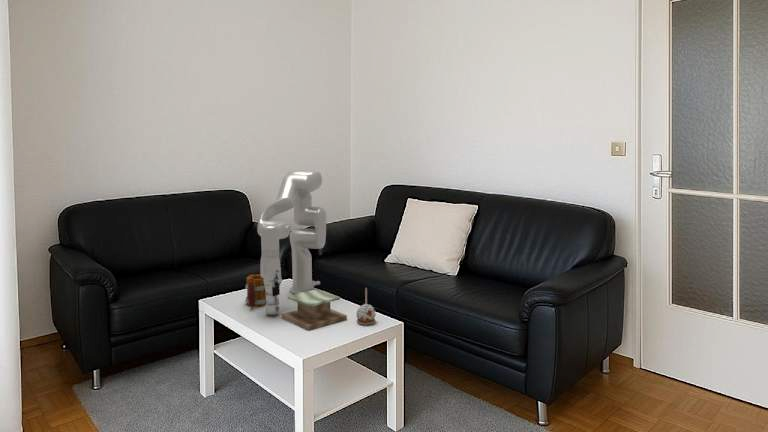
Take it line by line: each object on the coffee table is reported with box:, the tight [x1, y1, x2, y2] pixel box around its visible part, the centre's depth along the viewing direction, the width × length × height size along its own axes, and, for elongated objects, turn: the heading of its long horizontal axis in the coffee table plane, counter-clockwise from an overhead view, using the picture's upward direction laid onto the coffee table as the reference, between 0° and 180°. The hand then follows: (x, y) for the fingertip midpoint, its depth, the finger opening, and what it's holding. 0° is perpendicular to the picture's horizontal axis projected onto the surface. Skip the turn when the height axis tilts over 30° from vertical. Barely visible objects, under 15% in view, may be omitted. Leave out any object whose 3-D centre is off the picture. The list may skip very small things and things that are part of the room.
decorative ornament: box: [356, 287, 376, 326], centre depth 253 cm, size 8×8×15 cm
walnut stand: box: [281, 288, 348, 331], centre depth 257 cm, size 20×20×10 cm
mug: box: [244, 274, 266, 309], centre depth 275 cm, size 11×16×15 cm, turn 174°
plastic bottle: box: [264, 278, 281, 316], centre depth 261 cm, size 6×7×20 cm
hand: (271, 293), depth 261 cm, fingers closed on plastic bottle, 6 cm apart
